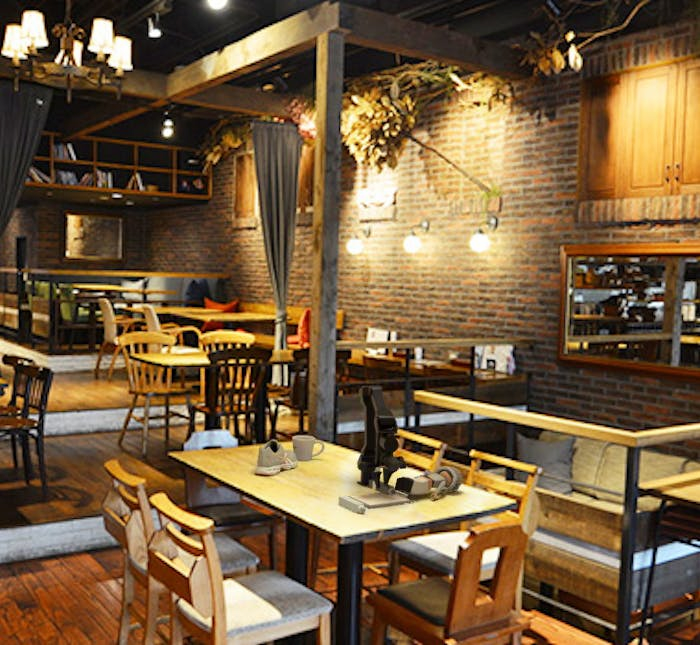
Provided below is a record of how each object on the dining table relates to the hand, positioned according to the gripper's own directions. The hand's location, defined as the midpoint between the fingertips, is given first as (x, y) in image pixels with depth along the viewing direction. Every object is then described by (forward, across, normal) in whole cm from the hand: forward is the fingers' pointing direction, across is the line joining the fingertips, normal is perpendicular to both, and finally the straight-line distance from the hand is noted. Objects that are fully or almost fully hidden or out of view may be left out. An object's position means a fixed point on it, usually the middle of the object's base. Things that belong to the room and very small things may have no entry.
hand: (381, 488), depth 306 cm
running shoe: (+4, -14, +55) cm, 57 cm away
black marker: (+1, 0, -1) cm, 1 cm away
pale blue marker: (+4, -19, -9) cm, 21 cm away
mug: (+4, +7, +67) cm, 67 cm away
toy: (+4, +20, -5) cm, 21 cm away
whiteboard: (+4, -3, -4) cm, 6 cm away
